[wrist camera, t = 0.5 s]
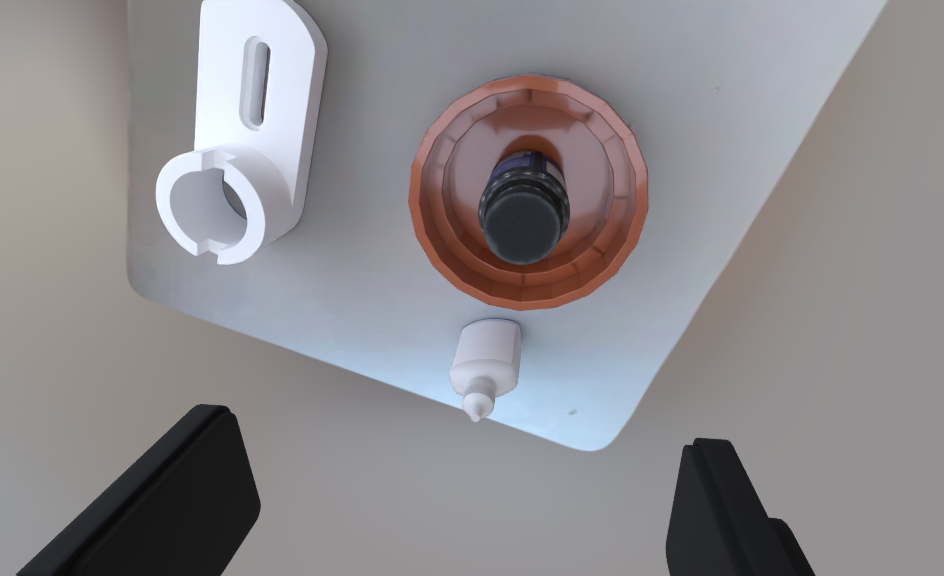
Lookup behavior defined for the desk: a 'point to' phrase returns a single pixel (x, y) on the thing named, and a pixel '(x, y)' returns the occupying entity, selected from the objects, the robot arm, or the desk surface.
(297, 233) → the desk surface
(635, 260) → the desk surface
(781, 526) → the robot arm
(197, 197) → the bracket
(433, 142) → the bowl
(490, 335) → the eye dropper bottle
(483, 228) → the pill bottle
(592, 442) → the desk surface
